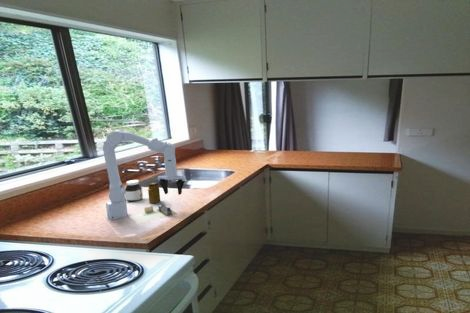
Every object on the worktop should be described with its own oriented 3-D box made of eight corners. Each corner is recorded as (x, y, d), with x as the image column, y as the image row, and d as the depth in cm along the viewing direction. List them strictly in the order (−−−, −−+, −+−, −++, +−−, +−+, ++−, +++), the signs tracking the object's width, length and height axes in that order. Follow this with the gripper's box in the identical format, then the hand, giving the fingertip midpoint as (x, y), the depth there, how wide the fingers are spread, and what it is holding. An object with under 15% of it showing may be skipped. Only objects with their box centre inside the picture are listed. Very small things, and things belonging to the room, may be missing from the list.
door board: (138, 226, 149) (137, 224, 149) (129, 218, 160) (129, 216, 160) (177, 215, 160) (177, 213, 160) (167, 208, 171) (166, 206, 171)
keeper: (145, 213, 163) (145, 208, 162) (144, 212, 164) (144, 207, 164) (153, 211, 165) (153, 206, 164) (152, 210, 166) (151, 206, 166)
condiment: (150, 202, 183) (147, 182, 181) (165, 201, 184) (163, 181, 182) (147, 206, 176) (145, 185, 174) (163, 205, 177) (161, 184, 175)
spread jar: (136, 203, 182) (134, 183, 180) (118, 203, 185) (116, 183, 183) (146, 196, 194) (144, 178, 192) (129, 196, 196) (127, 178, 194)
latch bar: (157, 209, 166) (157, 203, 166) (163, 208, 168) (162, 202, 168) (166, 215, 157) (166, 209, 156) (172, 214, 159) (172, 207, 158)
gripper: (187, 166, 163) (189, 191, 166) (161, 166, 167) (164, 191, 170) (181, 169, 157) (183, 196, 159) (154, 169, 161) (157, 195, 163)
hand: (173, 193), depth 164 cm, fingers open, 7 cm apart
